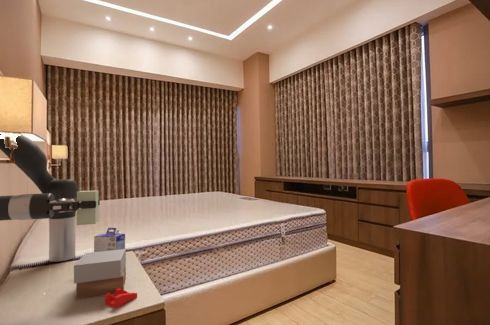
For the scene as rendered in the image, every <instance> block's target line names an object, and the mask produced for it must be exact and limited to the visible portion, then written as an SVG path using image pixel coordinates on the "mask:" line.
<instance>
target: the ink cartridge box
mask: <svg viewBox="0 0 490 325" xmlns="http://www.w3.org/2000/svg"><path fill="white" fill-rule="evenodd" d="M111 230H112V231H111ZM116 232H117V227H108V228H107V230H106V232H105V233H101V234H97V235H94V237H93V252H101V251H111V250H120V249H126V234H125V233H121V234H115V233H116Z"/></svg>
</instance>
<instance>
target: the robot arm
mask: <svg viewBox="0 0 490 325" xmlns="http://www.w3.org/2000/svg"><path fill="white" fill-rule="evenodd" d="M0 135H1V134H0ZM16 142H17V145H18V148H17V149H14V160H15V163H13V164H14V165H15V166H17V168H18V169H20V170H21V171H22V172H23V173H24V174H25V176H27V177H28V178H29V180H31V181H32V182H33V184H34V185H35V186H36V187H37V188H38V189H39V192H41V193H23V194H16V195H12V194H11V195H0V221H14V220H15V221H28V220H29V221H30V220H44V219H45V220H46V219H48V262H53V263H55V262H58V263H59V262H64V261H68V260H72V259H73V258H76V248H77V247H76V239H77V238H76V235H77V234H76V232H77V231H76V226H77V210H80V209H87V208H96V201H77V192H79V186H78V183H77V181H76V180H74V179H68V178H67V179H65V178H63V179H62V178H61V179H59V178H58V179H57V178H55V177H54V176H53V175H51V174H50V172H49V171H48V158H47V155H46V154H45V152H44V151H43V150H42V149H41V148H40V146H39V145H38V144H37V143H36V142H35V141H33V140H32V139H31V138H29V137H27V136H25V135H24V134H21V136H18V137H17V138H16ZM0 151H2V153H4V155H6V156H7V157H8V159H9V158H10V153H11V150H10V149H9V148H5V144H4V139H0ZM100 201H101V200H100V199H99V198H98V207H99V206H100V203H101V202H100Z"/></svg>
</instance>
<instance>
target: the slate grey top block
mask: <svg viewBox="0 0 490 325" xmlns="http://www.w3.org/2000/svg"><path fill="white" fill-rule="evenodd" d="M126 252H127V250H126V248H125V249H120V250H111V251H101V252H94V251H93V252H86V253H84V254H83V255H82V256H81V257H80V258H79V259H78V261H76V263H75V264H73V284H76V283H81V282H89V281H96V280H104V279H111V278H119V277H121V275H122V273H123V270H124V267H125V265H126V266H127V261H126V260H127V255H126V254H127V253H126Z"/></svg>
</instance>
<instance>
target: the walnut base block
mask: <svg viewBox="0 0 490 325" xmlns="http://www.w3.org/2000/svg"><path fill="white" fill-rule="evenodd" d="M126 269H127V264H126V265H125V267H124V270H123V273H122V275H121V277H119V278H111V279H104V280H96V281H89V282H81V283H75V285H76V288H75V289H76V294H75V295H76V296H75V298H76V301H79V300H83V299H89V298H90V299H92V298H96V297H101V296H103V297H104V296H105V294H107V293H110V294H111V295H113V294H114V293H115V289H117V288H120V289H123V290H125V286H124V285H125V284H126V280H127V270H126Z"/></svg>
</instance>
